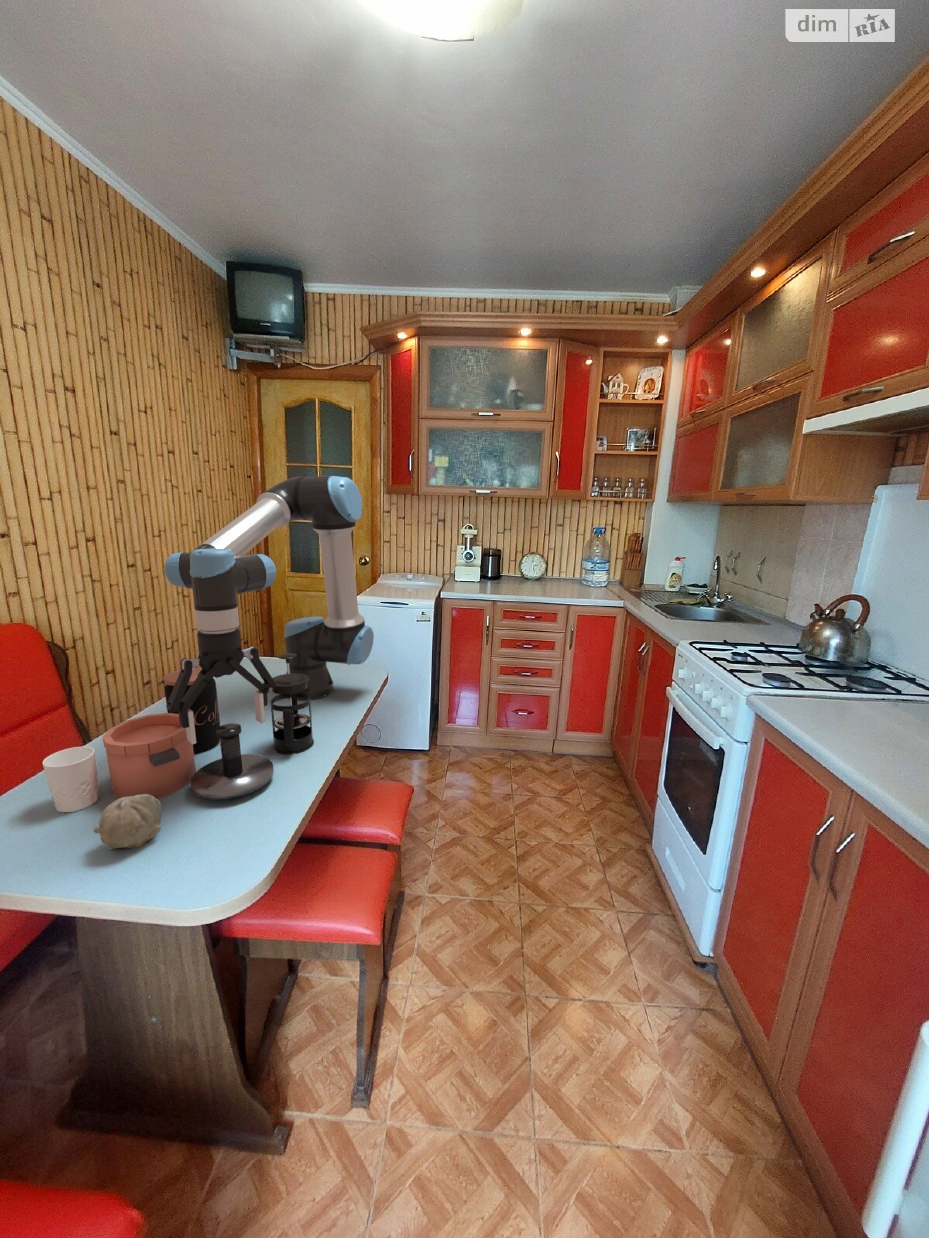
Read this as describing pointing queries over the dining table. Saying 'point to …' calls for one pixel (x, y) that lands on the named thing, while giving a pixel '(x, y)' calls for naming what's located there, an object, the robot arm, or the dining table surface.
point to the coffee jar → (200, 710)
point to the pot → (149, 756)
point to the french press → (291, 712)
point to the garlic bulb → (130, 821)
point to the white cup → (72, 778)
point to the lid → (231, 769)
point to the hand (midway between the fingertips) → (227, 731)
